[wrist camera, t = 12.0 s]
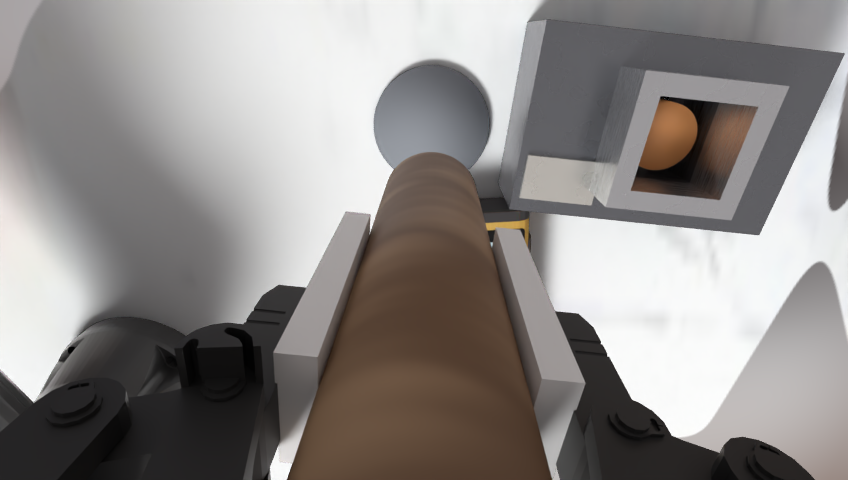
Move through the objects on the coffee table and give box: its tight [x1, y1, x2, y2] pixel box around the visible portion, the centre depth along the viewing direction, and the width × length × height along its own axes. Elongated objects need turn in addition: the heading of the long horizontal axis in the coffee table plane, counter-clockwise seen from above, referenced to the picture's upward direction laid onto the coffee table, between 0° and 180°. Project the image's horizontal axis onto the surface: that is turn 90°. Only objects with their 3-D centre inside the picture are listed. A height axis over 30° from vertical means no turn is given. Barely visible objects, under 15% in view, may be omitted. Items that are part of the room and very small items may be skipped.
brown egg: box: [639, 98, 697, 170], centre depth 31 cm, size 4×4×5 cm
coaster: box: [374, 65, 489, 169], centre depth 34 cm, size 9×9×1 cm
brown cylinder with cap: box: [287, 152, 552, 480], centre depth 11 cm, size 4×4×18 cm
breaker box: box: [498, 19, 845, 235], centre depth 30 cm, size 18×12×10 cm, turn 84°
